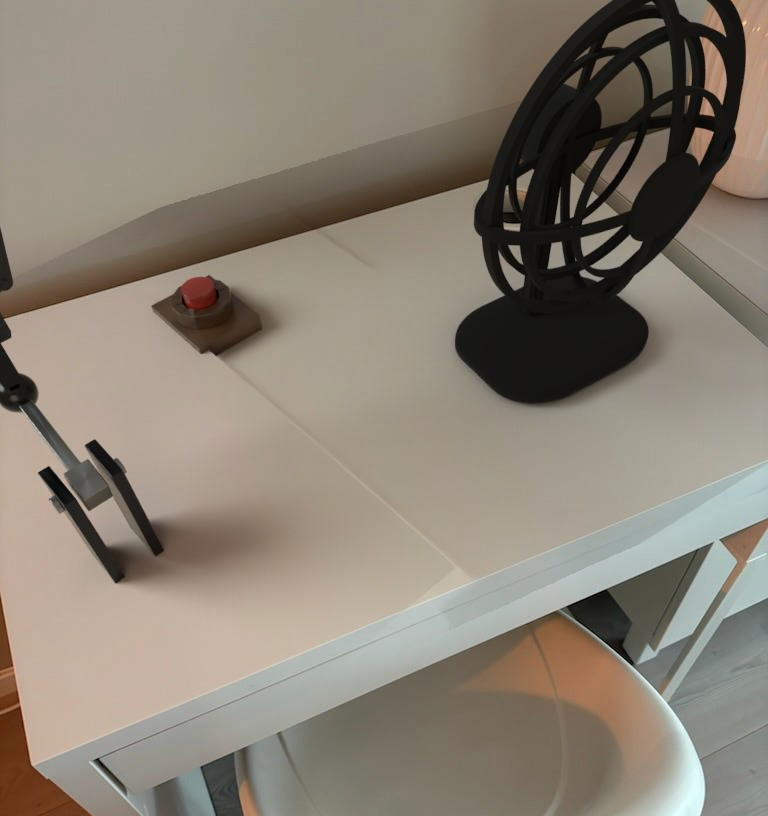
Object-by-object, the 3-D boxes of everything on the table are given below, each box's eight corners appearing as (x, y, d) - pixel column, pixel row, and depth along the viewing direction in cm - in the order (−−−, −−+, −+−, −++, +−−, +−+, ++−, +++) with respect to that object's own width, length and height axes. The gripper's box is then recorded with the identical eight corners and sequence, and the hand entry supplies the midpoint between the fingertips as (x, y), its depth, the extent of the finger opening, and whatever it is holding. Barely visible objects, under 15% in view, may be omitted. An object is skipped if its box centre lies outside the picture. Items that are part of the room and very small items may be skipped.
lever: (-7, 397, 62) (-20, 378, 59) (28, 378, 63) (18, 358, 60) (84, 517, 60) (76, 502, 57) (119, 495, 61) (113, 479, 58)
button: (178, 299, 83) (174, 286, 82) (205, 285, 85) (202, 272, 83) (196, 314, 82) (192, 301, 80) (223, 299, 83) (220, 286, 82)
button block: (156, 321, 87) (145, 292, 84) (213, 289, 90) (205, 261, 87) (204, 363, 82) (194, 335, 79) (262, 329, 85) (256, 301, 82)
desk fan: (503, 453, 73) (554, 73, 45) (405, 351, 82) (394, -18, 54) (704, 344, 81) (856, -40, 52) (594, 262, 90) (672, -103, 61)
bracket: (57, 548, 69) (-9, 458, 59) (141, 494, 72) (93, 400, 62) (122, 634, 63) (63, 553, 53) (211, 572, 67) (171, 483, 56)
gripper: (-311, 122, 36) (-54, 446, 55) (-50, 32, 40) (103, 360, 59) (-345, 72, 39) (-92, 394, 58) (-101, -6, 44) (59, 316, 63)
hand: (6, 376), depth 59 cm, fingers closed
